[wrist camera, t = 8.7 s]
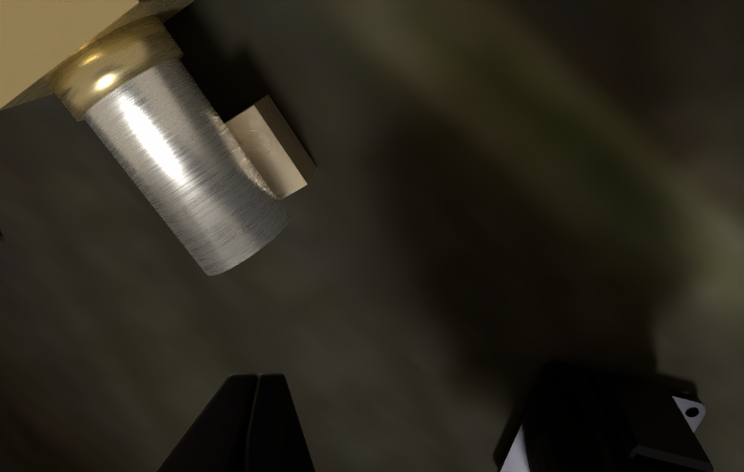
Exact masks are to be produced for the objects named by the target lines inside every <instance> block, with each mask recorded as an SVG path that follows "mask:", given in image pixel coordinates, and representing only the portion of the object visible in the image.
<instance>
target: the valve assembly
mask: <svg viewBox="0 0 744 472" xmlns="http://www.w3.org/2000/svg"><path fill="white" fill-rule="evenodd" d="M193 1H194V0H0V110H4V109H7V108H10V107H13V106H16V105H19V104H23V103H26V102H29V101H32V100H35V99H38V98H42V97H45V96H48V95H51V94H54V93H55V94H56V95H57V97H58V98H59V99H60V100H61V102H62V103H63V104H64V105H65V107H66V108H67V109H68V110H69V112H70V113H71V114H72V116H73V117H74V118H75V119H76V121H82V120H86V122H87V123H88V124H89V125H90V127H91V128H92V129H93V131H94V132H95V133H96V134H97V136H98V137H99V138H100V139H101V141H102V142H103V143H104V145H105V146H106V147H107V148H108V150H109V151H110V152H111V153H112V155H113V156H114V157H115V159H116V160H117V161H118V162H119V164H120V165H121V166H122V167H123V169H124V170H125V171H126V173H127V174H128V175H129V176H130V178H131V179H132V180H133V181H134V183H135V184H136V185H137V187H138V188H139V189H140V190H141V192H142V193H143V194H144V195H145V197H146V198H147V199H148V201H149V202H150V203H151V204H152V206H153V207H154V208H155V209H156V211H157V212H158V213H159V215H160V216H161V217H162V218H163V220H164V221H165V222H166V223H167V225H168V226H169V227H170V229H171V230H172V231H173V232H174V234H175V235H176V236H177V237H178V239H179V240H180V241H181V243H182V244H183V245H184V246H185V248H186V249H187V250H188V251H189V253H190V254H191V255H192V257H193V258H194V259H195V260H196V262H197V263H198V264H199V265H200V267H201V268H202V269H203V271H204V272H205V273H206V274H207V275H208V276H214V275H217V274H220V273H223V272H225V271H227V270H229V269H231V268H233V267H234V266H236V265H238V264H239V263H241V262H243V261H244V260H246V259H247V258H249V257H250V256H252V255H253V254H255V253H256V252H257V251H259V250H260V249H261V248H263V247H264V246H265V245H266V244H268V243H269V242H270V241H271V240H272V239H273V238H275V237H276V236H277V235H278V234H279V233H280V232H281V231H282V230H283V229H284V227H285V226H286V225H287V223H288V222H289V220H290V216H289V215H288V214H287V212H286V211H285V209H284V208H283V206H282V205H281V204H280V202H279V201H280V200H282V199H283V198H285V197H287V196H288V195H290V194H292V193H294V192H295V191H297V190H299V189H301V188H302V187H304V186H306V185H307V184H308V183H309V181H310V179H311V178H312V176H313V174H314V173H315V171H316V169H317V167H316V165H315V164H314V162H313V161H312V159H311V158H310V156H309V155H308V153H307V152H306V150H305V149H304V147H303V146H302V144H301V143H300V141H299V140H298V138H297V137H296V135H295V134H294V132H293V131H292V129H291V128H290V126H289V124H288V123H287V121H286V120H285V118H284V117H283V115H282V114H281V112H280V111H279V109H278V108H277V106H276V105H275V103H274V102H273V100H272V99H271V97H270V96H269V94H268V95H267V96H265V97H263V98H262V99H260V100H259V101H257V102H256V103H254V104H253V105H251V106H250V107H248V108H247V109H245V110H243V111H242V112H240V113H239V114H237V115H236V116H234V117H233V118H231V119H230V120H228V121H226V122H225V123H224V122H223V121H222V120H221V118H220V117H219V115H218V114H217V112H216V111H215V110H214V108H213V107H212V105H211V104H210V102H209V101H208V100H207V98H206V97H205V95H204V94H203V92H202V91H201V90H200V88H199V87H198V85H197V84H196V83H195V81H194V80H193V78H192V77H191V75H190V74H189V73H188V71H187V70H186V68H185V67H184V65H183V64H182V63H181V61H180V59H181V58H182V57H183V55H184V54H183V52H182V51H181V49H180V48H179V46H178V45H177V43H176V42H175V41H174V39H173V38H172V36H171V35H170V33H169V32H168V31H167V29H166V28H165V26H164V25H163V23H164V22H166V21H167V20H168V19H170V18H171V17H172V16H174V15H175V14H176V13H178V12H179V11H180V10H182V9H183V8H185V7H186V6H187V5H189V4H190V3H191V2H193Z"/></svg>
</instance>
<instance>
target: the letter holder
mask: <svg viewBox="0 0 744 472" xmlns="http://www.w3.org/2000/svg"><path fill="white" fill-rule="evenodd" d="M3 242H4V237H3V236H2V234H1V233H0V245H1V244H2V243H3Z"/></svg>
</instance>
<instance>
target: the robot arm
mask: <svg viewBox="0 0 744 472" xmlns="http://www.w3.org/2000/svg"><path fill="white" fill-rule="evenodd" d="M554 373H560V375H559V376H557V377H551V375H552V374H554ZM691 407H694V408H693V409H691V410H689V411H688V410H687V409H688V408H691ZM705 413H706V409H705V407H704V405H703V403H702V402H701V400H700V399H699V398H698V397H695V396H693V395H689V394H685V393H681V392H677V391H673V390H669V389H668V388H667V387H665V386H662V385H658V384H654V383H650V382H646V381H642V380H638V379H634V378H630V377H626V376H622V375H618V374H614V373H610V372H603V373H601V372H598V371H594V370H590V369H586V368H582V367H578V366H574V365H570V364H566V363H562V362H555V361H554V362H549V363H548V364H546V365H545V366H544V367H543V368H542V371H541V373H540V375H539V377H538V379H537V382H536V384H535V386H534V388H533V391H532V393H531V395H530V397H529V399H528V402H527V404H526V406H525V408H524V411H523V413H522V415H521V417H520V419H519V422H518V424H517V426H516V428H515V431H514V433H513V435H512V437H511V439H510V442H509V444H508V446H507V448H506V451H505V453H504V455H503V457H502V460H501V462H500V464H499V466H498V469H497V472H713V470H714V469H713V466H712V464H711V462H710V460H709V459H708V457H707V455H706V454H705V452H704V450H703V448H702V447H701V445H700V443H699V441H698V440H697V438H696V436H695V434H694V431H695V430H696V428H697V427H698V425H699V423H700V422H701V420H702V419H703V417H704V415H705ZM157 472H315V469H314V466H313V463H312V460H311V457H310V453H309V450H308V447H307V444H306V441H305V438H304V435H303V431H302V428H301V425H300V422H299V419H298V416H297V413H296V410H295V406H294V403H293V400H292V397H291V394H290V391H289V388H288V384H287V381H286V378H285V376H284V375H283V374H282V373H261V374H259V376H258V377H257V375H256V374H254V373H233V374H231V375H230V376H229V377H228V378H227V379H226V381H225V382H224V383H223V385H222V386H221V387H220V389H219V390H218V391H217V393H216V394H215V395H214V397H213V398H212V399H211V401H210V402H209V403H208V405H207V406H206V407H205V409H204V410H203V411H202V413H201V414H200V415H199V416H198V418H197V419H196V420H195V422H194V423H193V424H192V426H191V427H190V428H189V430H188V431H187V432H186V434H185V435H184V436H183V438H182V439H181V440H180V442H179V443H178V444H177V446H176V447H175V448H174V450H173V451H172V452H171V454H170V455H169V456H168V458H167V459H166V460H165V462H164V463H163V464H162V466H161V467H160V468H159V470H158V471H157Z"/></svg>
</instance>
